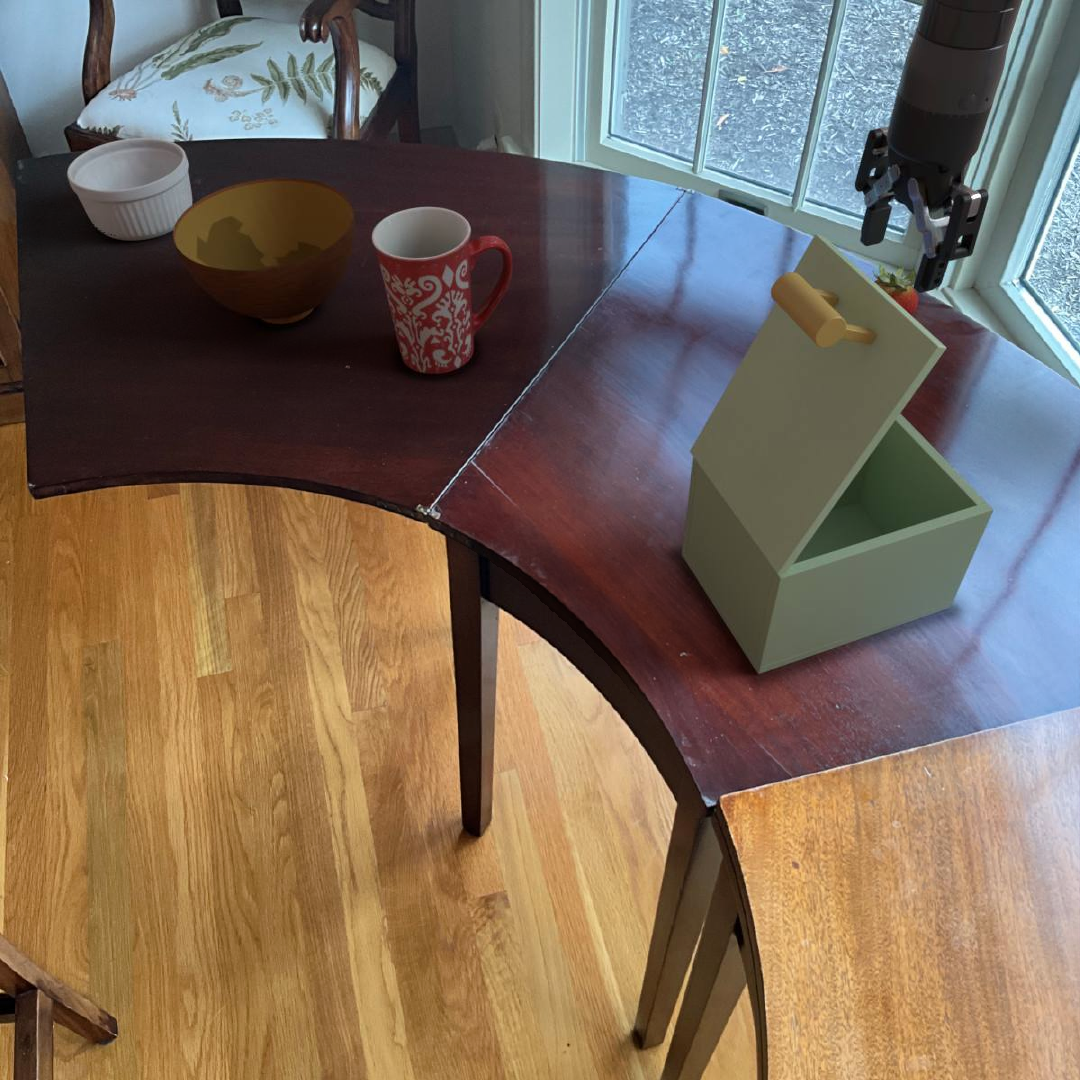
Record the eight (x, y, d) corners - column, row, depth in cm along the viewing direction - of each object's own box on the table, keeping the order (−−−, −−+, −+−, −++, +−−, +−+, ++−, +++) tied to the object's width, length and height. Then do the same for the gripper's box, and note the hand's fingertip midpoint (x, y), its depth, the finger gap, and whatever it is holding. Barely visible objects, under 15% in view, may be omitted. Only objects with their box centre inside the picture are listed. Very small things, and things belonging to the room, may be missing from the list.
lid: (824, 235, 63) (759, 218, 60) (947, 347, 54) (879, 334, 52) (697, 452, 73) (637, 446, 70) (786, 574, 65) (722, 573, 62)
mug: (394, 387, 96) (374, 264, 86) (388, 332, 102) (368, 211, 92) (523, 370, 97) (518, 247, 88) (510, 317, 104) (503, 196, 94)
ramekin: (191, 181, 125) (174, 127, 120) (212, 231, 117) (195, 175, 112) (82, 206, 122) (60, 151, 117) (95, 258, 113) (73, 202, 108)
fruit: (909, 329, 100) (930, 258, 94) (902, 360, 97) (923, 289, 91) (857, 319, 102) (875, 249, 96) (849, 349, 98) (866, 279, 92)
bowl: (386, 334, 102) (371, 247, 95) (212, 374, 98) (183, 286, 91) (348, 248, 113) (332, 164, 106) (191, 282, 110) (163, 197, 102)
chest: (858, 499, 84) (888, 400, 76) (950, 608, 76) (994, 509, 68) (681, 554, 81) (692, 456, 73) (758, 674, 73) (780, 578, 65)
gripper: (1043, 118, 77) (979, 297, 89) (932, 50, 86) (886, 220, 98) (963, 136, 76) (908, 316, 88) (857, 64, 85) (820, 236, 97)
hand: (896, 265), depth 93 cm, fingers open, 8 cm apart
